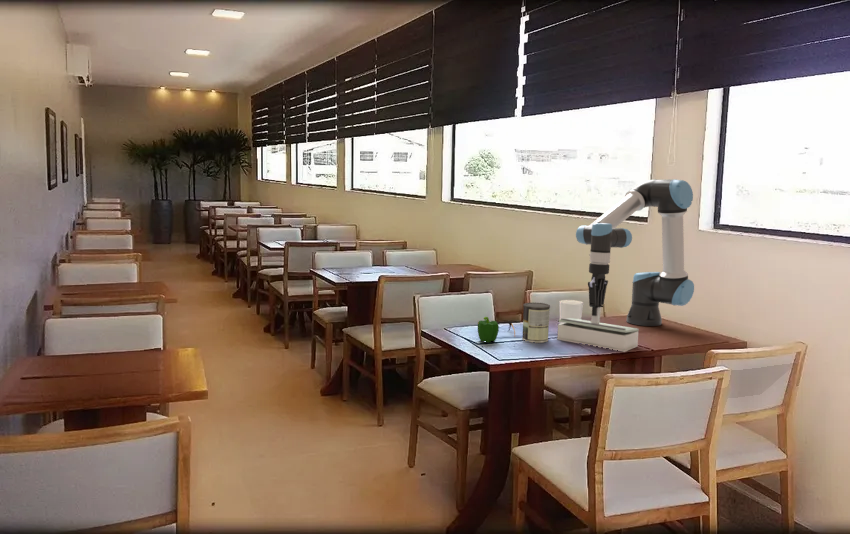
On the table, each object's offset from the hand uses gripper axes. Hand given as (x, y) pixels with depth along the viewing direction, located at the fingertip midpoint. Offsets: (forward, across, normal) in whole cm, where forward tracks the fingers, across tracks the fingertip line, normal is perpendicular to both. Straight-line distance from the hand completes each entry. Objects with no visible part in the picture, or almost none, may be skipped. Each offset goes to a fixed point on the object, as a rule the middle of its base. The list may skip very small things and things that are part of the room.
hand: (595, 323), depth 265 cm
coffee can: (+9, +10, -20) cm, 24 cm away
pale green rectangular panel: (+1, -2, 0) cm, 3 cm away
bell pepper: (+9, +26, -32) cm, 42 cm away
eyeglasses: (+9, +12, -37) cm, 40 cm away
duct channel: (+8, -2, 0) cm, 8 cm away
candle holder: (+8, -16, -19) cm, 26 cm away
